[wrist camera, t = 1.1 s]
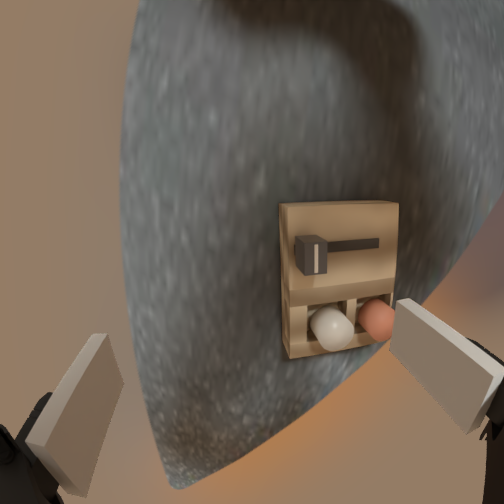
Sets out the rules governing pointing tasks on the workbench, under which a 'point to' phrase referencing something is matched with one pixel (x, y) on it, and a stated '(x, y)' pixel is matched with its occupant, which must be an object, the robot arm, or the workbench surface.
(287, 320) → the console
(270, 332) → the workbench surface
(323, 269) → the fader knob
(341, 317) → the button
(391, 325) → the button
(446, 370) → the robot arm
